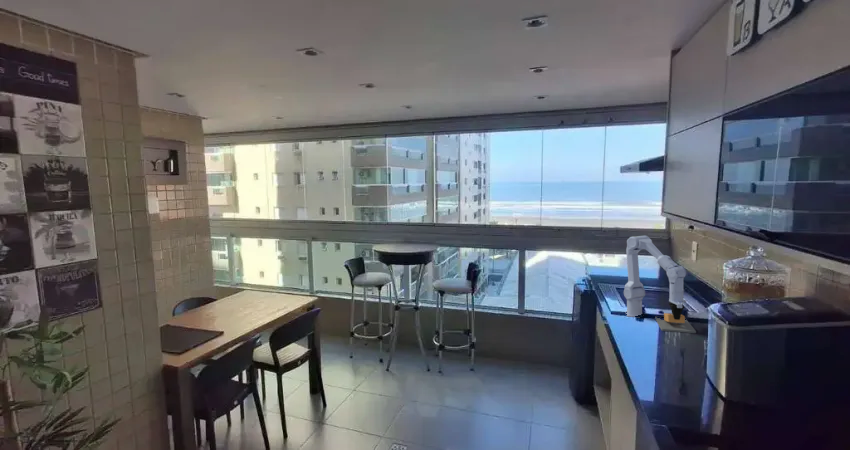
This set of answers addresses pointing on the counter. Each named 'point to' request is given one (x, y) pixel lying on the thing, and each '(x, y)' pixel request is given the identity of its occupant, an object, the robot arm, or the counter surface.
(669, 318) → the orange rectangular frame
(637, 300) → the robot arm
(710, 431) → the counter surface
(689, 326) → the keeper plate
